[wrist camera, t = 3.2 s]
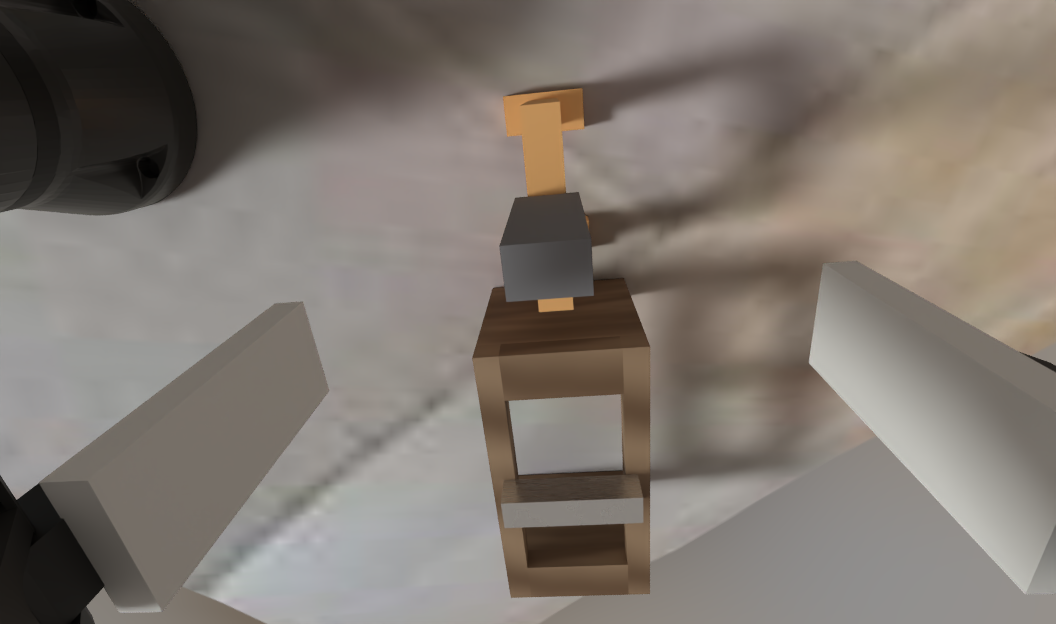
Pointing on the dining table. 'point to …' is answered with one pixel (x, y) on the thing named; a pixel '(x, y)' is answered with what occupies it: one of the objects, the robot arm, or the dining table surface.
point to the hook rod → (572, 501)
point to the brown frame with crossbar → (554, 372)
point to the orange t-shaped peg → (546, 207)
